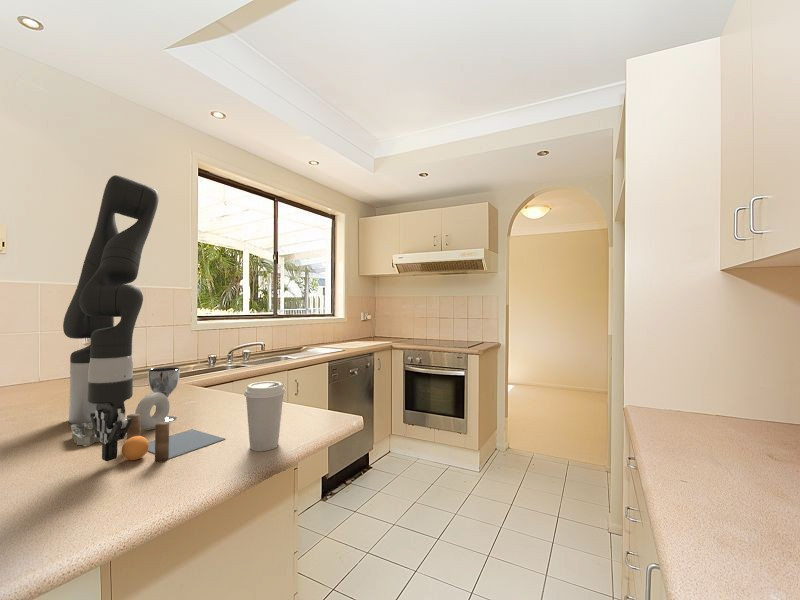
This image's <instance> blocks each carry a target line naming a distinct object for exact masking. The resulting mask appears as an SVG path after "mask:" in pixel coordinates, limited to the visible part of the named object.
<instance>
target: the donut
mask: <svg viewBox="0 0 800 600" xmlns="http://www.w3.org/2000/svg"><path fill="white" fill-rule="evenodd" d="M154 406H155V411H154V413H153V415H151V411H152V408H153V407H154ZM170 407H171V405H170V400H169V397H168V398H167V397H166V396H165V395H164V394H162V393H159V392H150V393H148V394H146V395H145V396H144V397H143V398H142V399H141V400H140V401H139V403H138V404H137V406H136V409H135V413H134V414H140V429H143V430H147V431H149V430H155V424H157V423H160V422H164V421H165V419H166V418H167V416H169V412H170V409H171V408H170Z"/></svg>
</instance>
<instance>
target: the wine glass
mask: <svg viewBox="0 0 800 600" xmlns="http://www.w3.org/2000/svg"><path fill="white" fill-rule="evenodd" d="M180 372H181V371H180V366H179V367H178V366H162V367H161V366H159V367H154V368H153V367H152V368H150V369H148V370H147V380H148V385H149V389H150V390H151V392H152V393H154V392H159V393H162V394H164V395H165V396H166V397H167V398H168V399H169V396H170V395H171V394H172V393H173V392H174V390H175V389H176V388H177V387H178V383H179V380H180ZM176 418H177V419H178V416H176V415H168V416H167V418H166V419H165V421H164V422H169V423H170V422H173V421H175V420H177V419H176Z"/></svg>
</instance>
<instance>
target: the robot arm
mask: <svg viewBox="0 0 800 600" xmlns="http://www.w3.org/2000/svg"><path fill="white" fill-rule="evenodd" d="M159 198H160V197H159V192H158V190H157V189H155V188H153V187H151V186H149V185H147V184H143V183H141V182H137V181H135V180H133V179H130V178H128V177H124V176H121V175H112V176H111V177H109V179H108V181H107V182H106V184H105V188H104V190H103V195H102V198H101V203H100V204H101V205H100V208H99V212H98V217H97V221H96V224H95V228H94V232H93V236H92V237H91V240H90V243H89V246H88V249H87V252H86V254H85V258H84V260H83V264H82V268H81V272H80V276H79V279H78V283H77V285H76V289H75V292H74V294H73V296H72V298H71V301H70V303H69V305H68V306H67V309H66V312H65V314H64V318H63V324H62V327H63V328H62V329H63V333H64V336H66V337H67V338H69V339H74V340H75V339H77V340H78V339H79V340H81V339H90V344H89V345H87V346H86V347H83V348H80V349H78V350H75V351H73V352H72V353H71V354H70V361H69V362H70V363H69V364H70V365H69V399H68V400H69V401H68V402H69V405H68V406H69V407H68V410H69V411H68V423H69V424H71V425H72V424H75V425H81V424H82V423H83V424H86V423H92V424H93V427H94V430H95V434H96V437H97V438H100V442H99V443H101V460H102V461H105V462H110V461H113V460H115V459H117V458H118V447H119V446H118V444H119V443H118V442H119V441H120V440H125V439H124V438H125V437H126V436H127V431H128V429H129V426H130V424H131V422H132V420H131V418H127V417H125V416H126V406H125V402H126V401H127V400H129V399H131V398H132V397H133V392H134V391H133V390H134V389H133V388H134V387H133V382H134V377H133V376H134V363H133V356H132V355H133V335H134V330H135V326H136V322H137V320H138V318H139V317H138V316H139V314H140V312H141V309H142V306H143V302H144V295H143V293H142V291H141V289H140V288H139V287H138V286H136V285H133V284H131V283H133V282H135V280H136V279H137V278H138V275H139V269H140V265H141V264H140V263H141V259H142V258H141V257H142V253H143V249H144V246H145V244H146V241H147V239H148V236H149V234H150V231H151V228H152V224H153V222H154V219H155V216H156V214H157V213H156V212H157V210H158V205H159V200H160V199H159ZM116 214H118V215H121V216H125V217H126V218H131V219H135V220H137V221H136V222H135V223H133V224H132V225H130V227H127V228H126V229H124V230H122V231H120V232H119V230H118V226H117V222H116ZM115 318H120V321H119V322H118V323H117V324H116V325H115V321H114V320H115Z"/></svg>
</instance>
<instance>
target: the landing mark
mask: <svg viewBox="0 0 800 600" xmlns="http://www.w3.org/2000/svg"><path fill="white" fill-rule="evenodd" d="M224 440H226V438H224V437H220V436H219V435H218V436H217V435H215V434H210V433H206V432H204V431H200V430H197V429H194V428H192V429H188V430H185V431H182V432H179V433H174V434H171V435H169V459H168V460H170V458H171V459H173V458H175V457H178V456H182V455H185V454H188V453H191V452H193V451H197V450H199V449H201V448H205V447H208V446H210V445H213V444H216V443H218V442H222V441H224ZM148 442H149V449H148V451H147V453H148V452H149V453H151V454H154V455H155V439H154V440H151V441H148Z"/></svg>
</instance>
